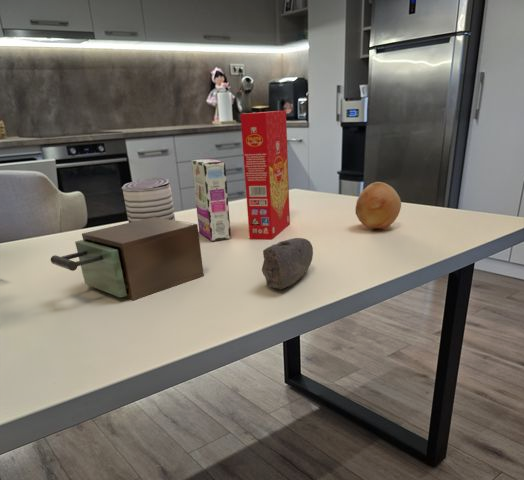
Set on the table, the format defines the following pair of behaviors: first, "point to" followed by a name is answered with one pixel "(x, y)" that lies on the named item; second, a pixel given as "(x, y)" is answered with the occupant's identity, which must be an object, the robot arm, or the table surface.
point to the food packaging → (266, 172)
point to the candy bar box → (211, 198)
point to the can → (148, 199)
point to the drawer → (97, 266)
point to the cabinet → (154, 253)
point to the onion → (378, 205)
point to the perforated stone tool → (286, 262)
